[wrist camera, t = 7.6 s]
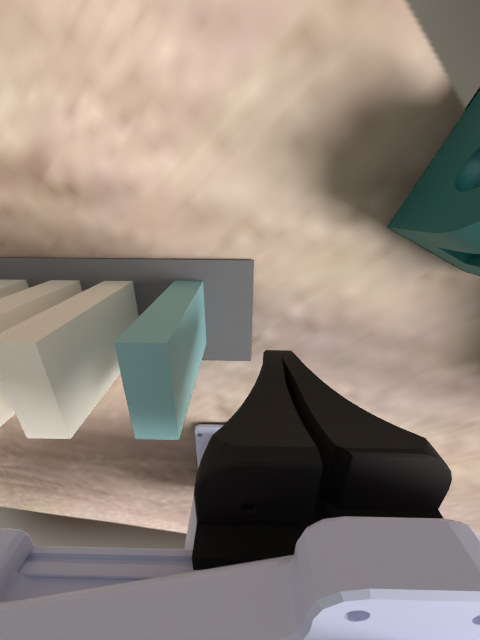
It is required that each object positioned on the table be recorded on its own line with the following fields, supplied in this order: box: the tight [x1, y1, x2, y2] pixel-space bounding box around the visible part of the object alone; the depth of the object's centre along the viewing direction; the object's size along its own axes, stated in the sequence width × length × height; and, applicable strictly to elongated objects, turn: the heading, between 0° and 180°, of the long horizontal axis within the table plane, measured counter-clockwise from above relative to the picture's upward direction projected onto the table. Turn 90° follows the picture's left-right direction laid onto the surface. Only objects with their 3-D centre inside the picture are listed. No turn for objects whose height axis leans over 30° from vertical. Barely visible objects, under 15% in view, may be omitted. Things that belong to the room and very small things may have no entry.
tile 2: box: [0, 281, 139, 439], centre depth 15 cm, size 5×2×9 cm, turn 0°
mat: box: [0, 257, 254, 361], centre depth 19 cm, size 8×24×1 cm, turn 90°
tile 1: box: [114, 281, 206, 440], centre depth 14 cm, size 5×2×9 cm, turn 0°
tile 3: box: [0, 280, 82, 427], centre depth 15 cm, size 5×2×9 cm, turn 0°
